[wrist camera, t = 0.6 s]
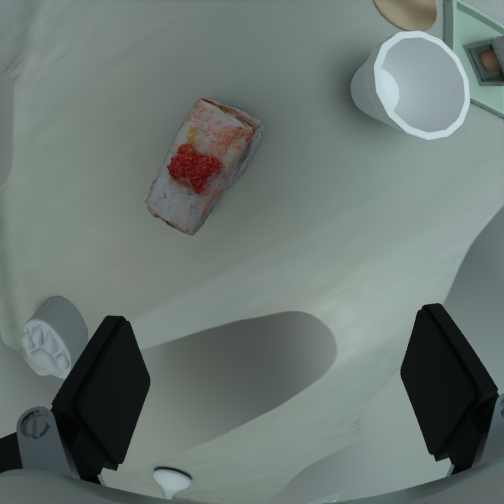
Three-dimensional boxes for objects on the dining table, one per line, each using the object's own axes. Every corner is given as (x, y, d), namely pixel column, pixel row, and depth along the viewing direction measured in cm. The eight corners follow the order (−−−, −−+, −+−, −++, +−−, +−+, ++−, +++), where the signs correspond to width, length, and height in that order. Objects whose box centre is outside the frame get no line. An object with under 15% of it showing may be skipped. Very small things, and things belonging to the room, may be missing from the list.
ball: (476, 46, 26) (489, 44, 23) (492, 56, 26) (506, 54, 23) (475, 66, 27) (489, 65, 24) (492, 75, 27) (505, 75, 24)
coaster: (372, -35, 23) (373, -37, 23) (434, -12, 23) (436, -14, 23) (369, 19, 27) (371, 17, 26) (434, 41, 27) (436, 40, 27)
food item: (209, 92, 32) (188, 84, 23) (270, 124, 34) (271, 126, 25) (159, 192, 37) (127, 217, 28) (214, 221, 39) (199, 255, 30)
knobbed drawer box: (462, 45, 26) (495, 38, 19) (488, 38, 25) (521, 32, 18) (479, 86, 28) (514, 86, 21) (504, 76, 27) (538, 76, 20)
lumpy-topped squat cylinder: (42, 335, 50) (21, 362, 42) (42, 285, 45) (15, 312, 37) (85, 358, 51) (67, 390, 43) (91, 311, 46) (67, 344, 38)
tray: (443, 0, 24) (452, -4, 22) (529, 52, 24) (539, 51, 22) (440, 89, 30) (450, 88, 28) (525, 131, 30) (536, 133, 28)
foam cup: (331, 118, 33) (365, 121, 21) (341, 46, 29) (379, 15, 17) (403, 137, 33) (461, 152, 21) (414, 68, 29) (474, 56, 17)
